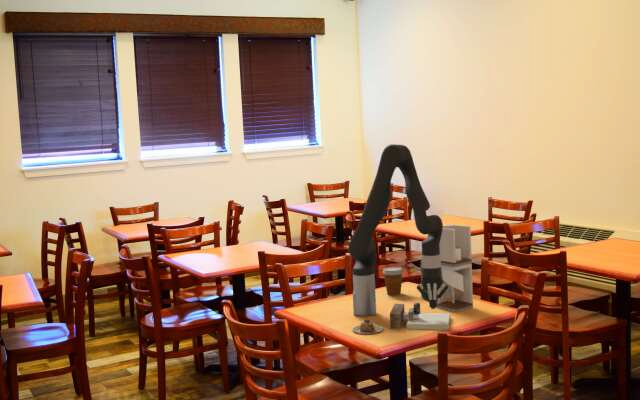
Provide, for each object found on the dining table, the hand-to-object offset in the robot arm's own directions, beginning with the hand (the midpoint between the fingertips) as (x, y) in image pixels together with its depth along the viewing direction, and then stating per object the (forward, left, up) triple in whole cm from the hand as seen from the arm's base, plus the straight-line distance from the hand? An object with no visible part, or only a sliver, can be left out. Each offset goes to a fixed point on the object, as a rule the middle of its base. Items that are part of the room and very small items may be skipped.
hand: (433, 308), depth 309 cm
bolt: (-11, 0, -4) cm, 11 cm away
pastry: (-25, -10, -7) cm, 28 cm away
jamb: (-15, 0, -6) cm, 16 cm away
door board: (-2, 0, -6) cm, 7 cm away
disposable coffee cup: (-22, +50, -7) cm, 55 cm away
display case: (+7, +25, -6) cm, 27 cm away
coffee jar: (-4, +41, -7) cm, 42 cm away
